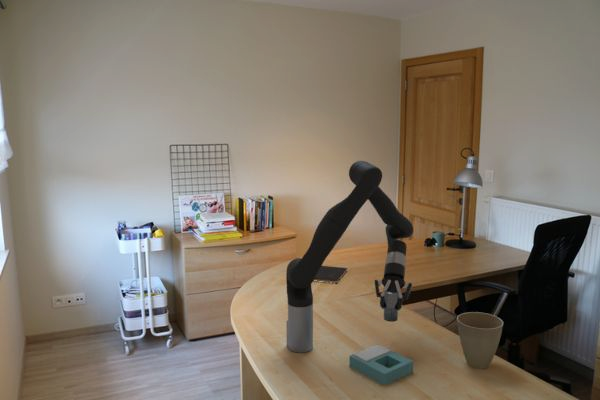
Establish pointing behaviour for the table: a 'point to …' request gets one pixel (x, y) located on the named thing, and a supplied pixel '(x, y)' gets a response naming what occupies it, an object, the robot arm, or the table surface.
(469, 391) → the table surface
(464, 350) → the plant pot
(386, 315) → the dark grey cylinder
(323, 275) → the hardcover book
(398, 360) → the jig
